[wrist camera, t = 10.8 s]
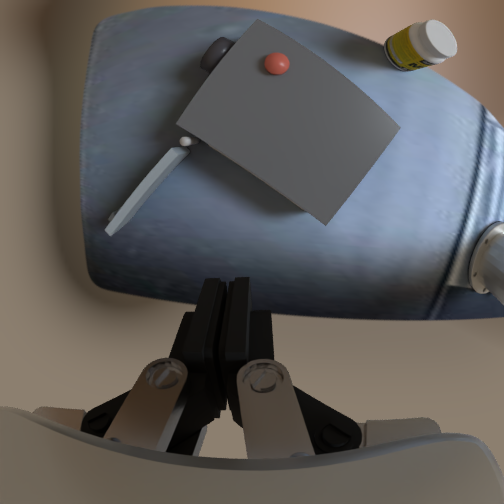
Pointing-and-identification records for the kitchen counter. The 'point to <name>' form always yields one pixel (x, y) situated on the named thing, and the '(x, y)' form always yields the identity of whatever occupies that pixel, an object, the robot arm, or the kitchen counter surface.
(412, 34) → the supplement bottle
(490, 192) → the kitchen counter surface
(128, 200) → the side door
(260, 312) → the robot arm
